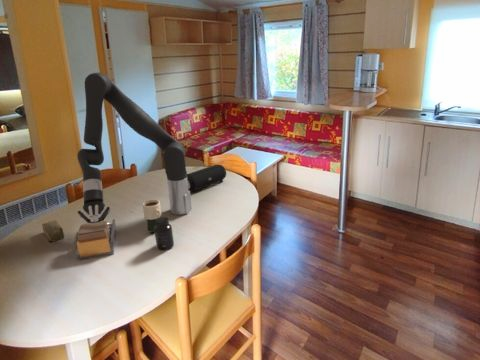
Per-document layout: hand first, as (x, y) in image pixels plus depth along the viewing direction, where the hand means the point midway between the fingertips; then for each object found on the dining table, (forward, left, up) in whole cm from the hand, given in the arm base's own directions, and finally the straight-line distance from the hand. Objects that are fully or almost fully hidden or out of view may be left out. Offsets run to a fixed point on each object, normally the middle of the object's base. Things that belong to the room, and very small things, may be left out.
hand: (95, 231), depth 139 cm
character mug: (-18, -14, -6) cm, 24 cm away
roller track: (+1, -1, -5) cm, 6 cm away
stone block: (+22, -2, -6) cm, 23 cm away
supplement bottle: (-28, -3, -6) cm, 29 cm away
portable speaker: (-24, -65, -6) cm, 69 cm away
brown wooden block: (-2, +4, -2) cm, 5 cm away
